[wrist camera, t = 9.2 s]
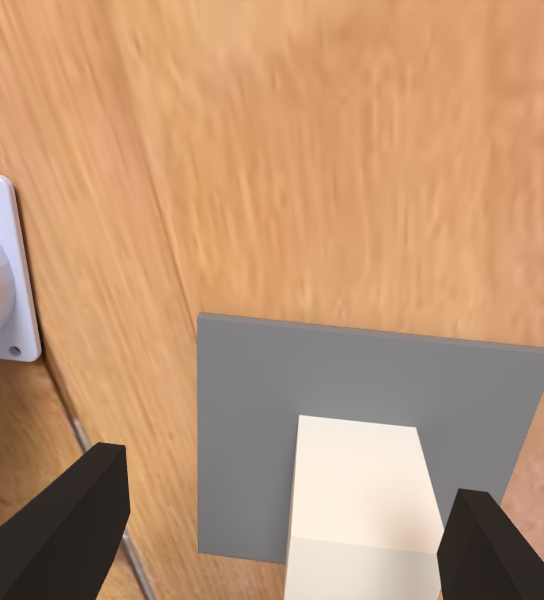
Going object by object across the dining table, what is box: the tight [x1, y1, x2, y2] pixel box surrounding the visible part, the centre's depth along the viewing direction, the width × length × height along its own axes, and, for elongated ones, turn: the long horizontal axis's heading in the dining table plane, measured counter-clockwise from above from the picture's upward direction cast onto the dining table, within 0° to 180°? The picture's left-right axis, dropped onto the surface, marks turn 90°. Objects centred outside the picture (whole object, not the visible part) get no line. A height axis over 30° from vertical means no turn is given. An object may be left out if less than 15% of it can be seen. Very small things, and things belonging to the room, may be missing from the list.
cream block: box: [283, 415, 444, 600], centre depth 18 cm, size 5×5×6 cm
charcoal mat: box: [197, 313, 544, 564], centre depth 21 cm, size 14×14×1 cm
